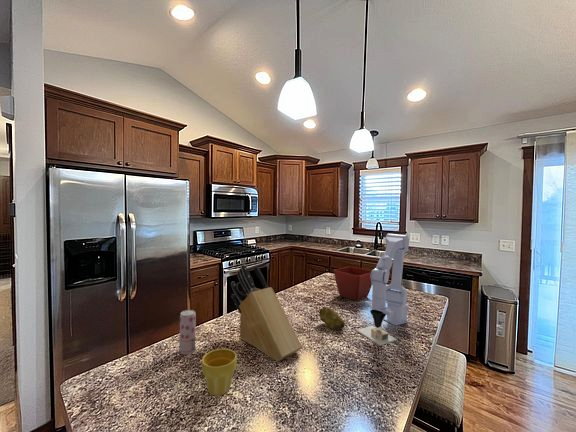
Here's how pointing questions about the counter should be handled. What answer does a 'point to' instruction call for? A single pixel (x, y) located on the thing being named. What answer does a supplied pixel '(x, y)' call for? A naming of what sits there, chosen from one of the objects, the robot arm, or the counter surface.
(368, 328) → the mat
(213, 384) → the plant pot
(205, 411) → the counter surface
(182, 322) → the beverage can
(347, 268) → the plant pot
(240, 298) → the knife block
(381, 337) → the green-faced wooden block
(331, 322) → the potato
